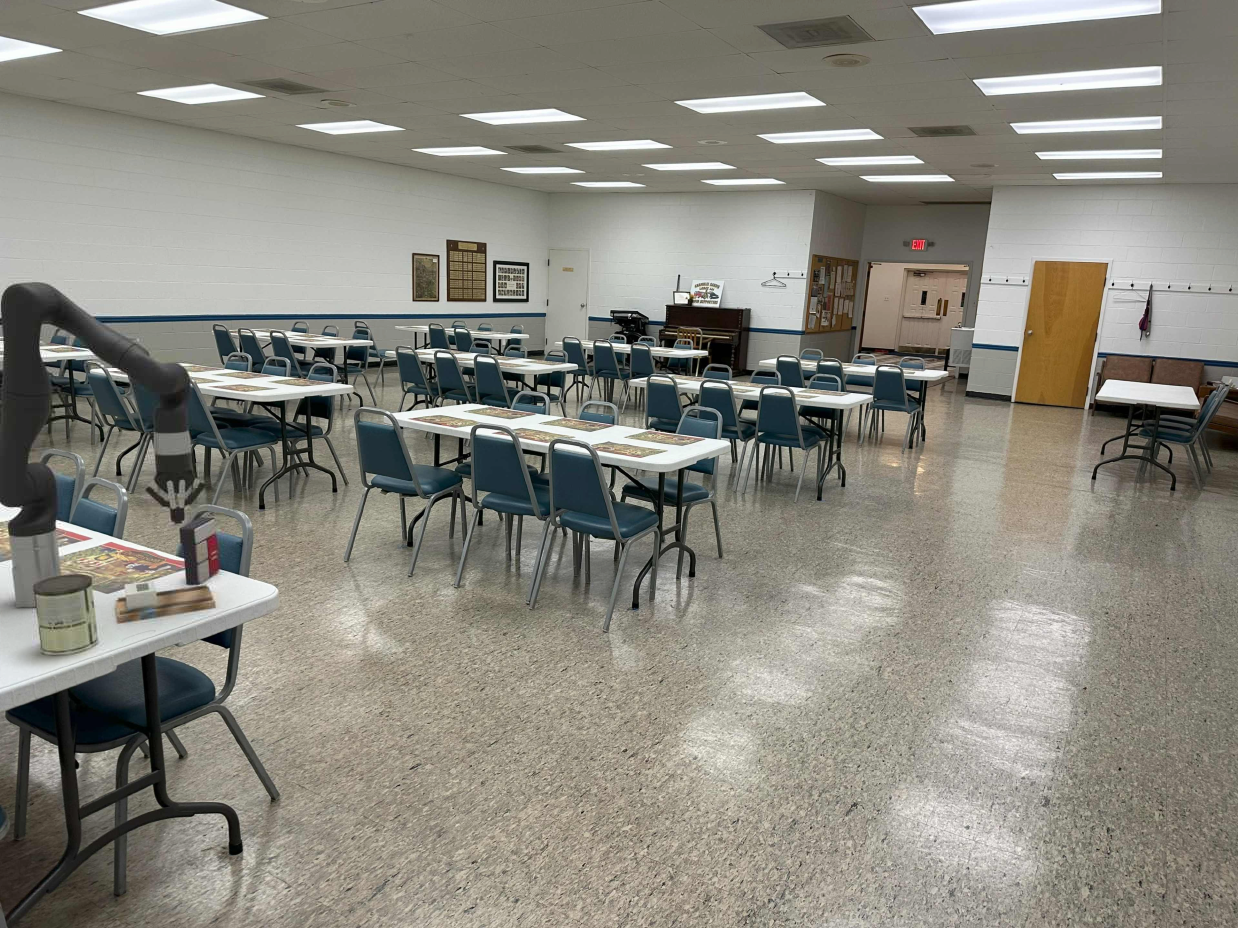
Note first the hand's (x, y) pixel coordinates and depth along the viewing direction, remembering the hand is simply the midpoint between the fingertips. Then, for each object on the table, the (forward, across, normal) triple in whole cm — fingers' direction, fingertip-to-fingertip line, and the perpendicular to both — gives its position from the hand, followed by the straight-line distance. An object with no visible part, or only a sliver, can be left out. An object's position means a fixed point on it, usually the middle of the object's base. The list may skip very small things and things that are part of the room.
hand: (178, 522), depth 198 cm
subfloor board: (+20, -4, 0) cm, 20 cm away
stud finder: (+18, -9, 0) cm, 20 cm away
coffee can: (+20, -23, -15) cm, 34 cm away
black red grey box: (+20, +6, +18) cm, 28 cm away
